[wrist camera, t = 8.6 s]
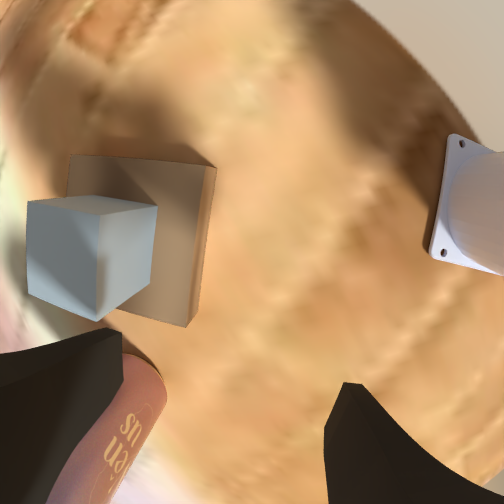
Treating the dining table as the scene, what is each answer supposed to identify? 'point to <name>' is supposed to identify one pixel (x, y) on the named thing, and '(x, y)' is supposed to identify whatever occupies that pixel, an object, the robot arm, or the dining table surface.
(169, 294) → the tan block
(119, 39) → the dining table surface
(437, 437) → the dining table surface
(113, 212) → the pale grey-blue block
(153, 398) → the beverage can
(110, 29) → the dining table surface
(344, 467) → the robot arm
